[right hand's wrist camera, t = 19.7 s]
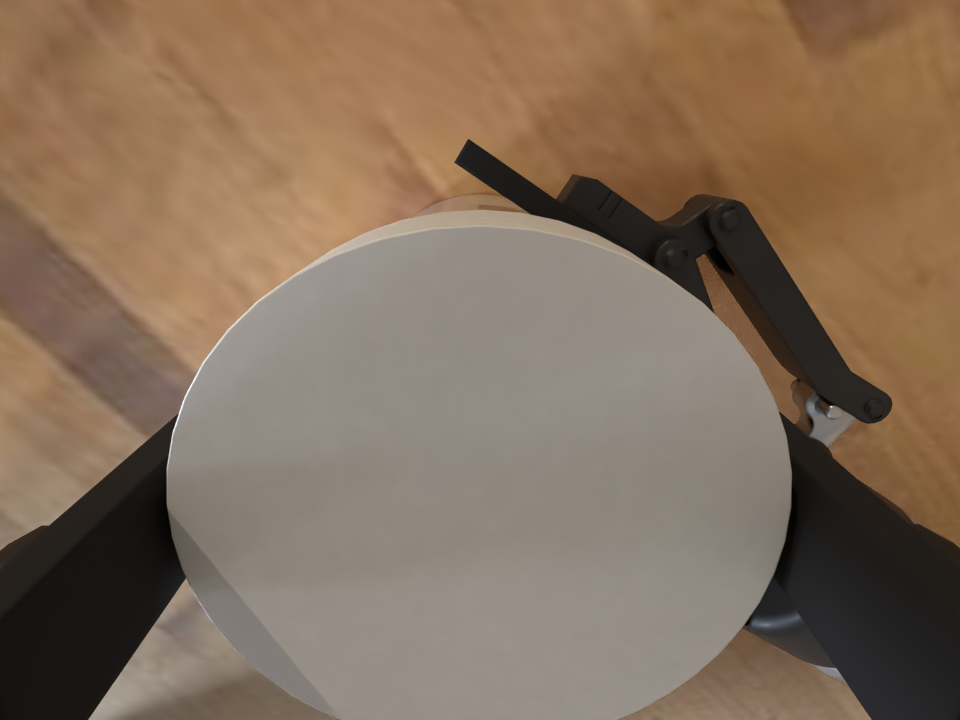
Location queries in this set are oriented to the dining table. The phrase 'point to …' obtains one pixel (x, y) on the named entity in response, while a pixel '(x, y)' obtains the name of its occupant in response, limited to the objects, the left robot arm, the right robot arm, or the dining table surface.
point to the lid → (479, 477)
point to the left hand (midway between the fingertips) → (375, 297)
